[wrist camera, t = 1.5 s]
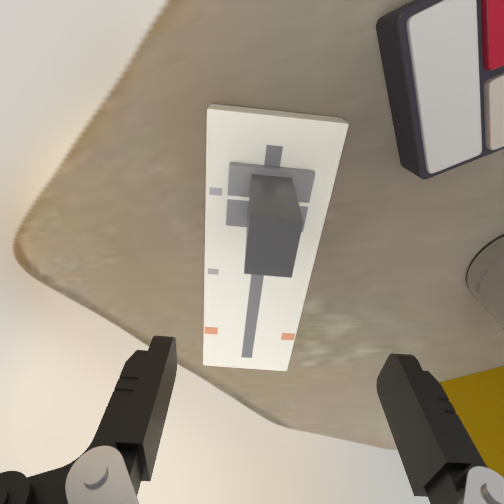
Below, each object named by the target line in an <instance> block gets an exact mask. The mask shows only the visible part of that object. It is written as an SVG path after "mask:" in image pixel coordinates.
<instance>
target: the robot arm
mask: <svg viewBox="0 0 504 504" xmlns="http://www.w3.org/2000/svg"><path fill="white" fill-rule="evenodd" d="M467 285H468V288H469V290H470V291H471V293H472V294H473V295H474V296H475V297H476V298H477V299H478V300H479V301H480V303H481V304H482V305H483V306H484V307H485V308H486V309H487V310H488V312H489V313H490V314H491V315H492V316H493V317H494V319H495V320H496V321H497V322H498V323H499V324H500V325H501V326H502V328H503V329H504V236H503V237H501V238H499V239H497V240H496V241H494V242H493V243H491V244H490V245H489V246H487V247H486V248H485V249H484V250H483V251H482V252H481V253H480V254H479V255H478V256H477V257H476V258H475V260H474V261H473V262H472V264H471V266H470V268H469V271H468V275H467ZM176 370H177V355H176V339H175V337H167V336H154V337H153V339H152V341H151V344H150V347H149V349H148V351H143V350H137V351H135V353H134V354H133V355H132V356H131V357H130V358H129V359H128V360H127V361H126V363H125V365H124V367H123V370H122V372H121V375H120V378H119V380H118V382H117V384H116V387H115V390H114V392H113V394H112V396H111V398H110V401H109V403H108V406H107V408H106V410H105V413H104V415H103V418H102V420H101V423H100V425H99V427H98V430H97V432H96V434H95V437H94V439H93V441H92V443H91V444H90V446H89V447H88V448H87V450H86V451H85V452H84V453H83V454H82V455H81V456H80V457H78V458H77V459H76V460H75V461H73V462H72V463H70V464H68V465H66V466H64V467H61V468H58V469H55V470H51V471H48V472H44V473H41V474H38V475H34V476H31V477H28V478H27V477H26V476H25V475H24V474H22V473H21V472H17V471H7V472H3V473H0V504H139V502H138V499H137V494H138V490H139V487H140V483H141V481H150V480H151V476H152V472H153V468H154V464H155V460H156V456H157V452H158V448H159V443H160V439H161V435H162V431H163V427H164V423H165V419H166V415H167V411H168V406H169V402H170V398H171V394H172V390H173V386H174V382H175V377H176ZM377 393H378V396H379V399H380V402H381V404H382V407H383V410H384V413H385V415H386V418H387V421H388V424H389V427H390V429H391V432H392V435H393V438H394V440H395V443H396V446H397V449H398V452H399V454H400V457H401V460H402V463H403V465H404V468H405V471H406V474H407V476H408V479H409V482H410V485H411V488H412V490H413V493H414V496H426V497H428V498H429V501H430V503H431V504H504V478H503V477H502V476H501V475H499V474H498V473H497V472H495V471H493V470H491V469H489V468H488V467H487V465H486V464H485V462H484V461H483V459H482V457H481V455H480V453H479V452H478V450H477V448H476V446H475V445H474V443H473V441H472V439H471V437H470V436H469V434H468V432H467V430H466V428H465V427H464V425H463V423H462V421H461V420H460V418H459V416H458V414H456V411H455V409H454V407H453V405H452V403H451V402H449V398H448V396H447V395H446V393H445V391H444V389H443V387H442V386H441V384H440V383H439V382H438V381H437V380H436V379H435V378H434V377H433V376H432V375H431V374H430V373H429V371H423V370H422V368H421V366H420V364H419V362H418V360H417V359H416V357H415V356H413V355H407V354H390V355H389V357H388V359H387V360H386V362H385V364H384V366H383V368H382V370H381V372H380V374H379V376H378V378H377Z"/></svg>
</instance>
